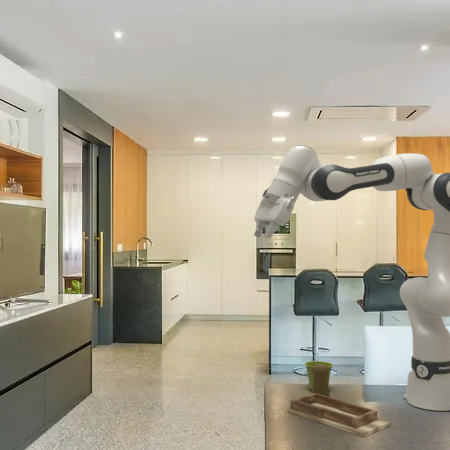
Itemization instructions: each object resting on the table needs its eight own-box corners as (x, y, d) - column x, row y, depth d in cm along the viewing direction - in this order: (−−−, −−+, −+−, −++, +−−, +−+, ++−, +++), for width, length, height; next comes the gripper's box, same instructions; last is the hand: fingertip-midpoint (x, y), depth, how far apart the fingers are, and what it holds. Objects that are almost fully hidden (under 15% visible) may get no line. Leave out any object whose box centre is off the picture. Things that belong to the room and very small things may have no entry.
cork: (330, 402, 170) (330, 367, 171) (310, 401, 172) (310, 366, 172) (330, 396, 176) (330, 362, 177) (311, 395, 178) (311, 361, 178)
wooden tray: (315, 403, 169) (315, 392, 169) (390, 425, 150) (390, 412, 150) (287, 412, 160) (288, 400, 161) (363, 437, 141) (363, 423, 141)
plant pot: (304, 385, 190) (304, 360, 190) (332, 386, 189) (332, 361, 189) (304, 392, 181) (304, 366, 181) (333, 394, 179) (333, 367, 179)
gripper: (304, 199, 151) (283, 243, 150) (278, 201, 171) (259, 240, 170) (285, 188, 150) (263, 233, 148) (262, 191, 170) (242, 231, 168)
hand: (261, 237), depth 159 cm, fingers open, 8 cm apart
